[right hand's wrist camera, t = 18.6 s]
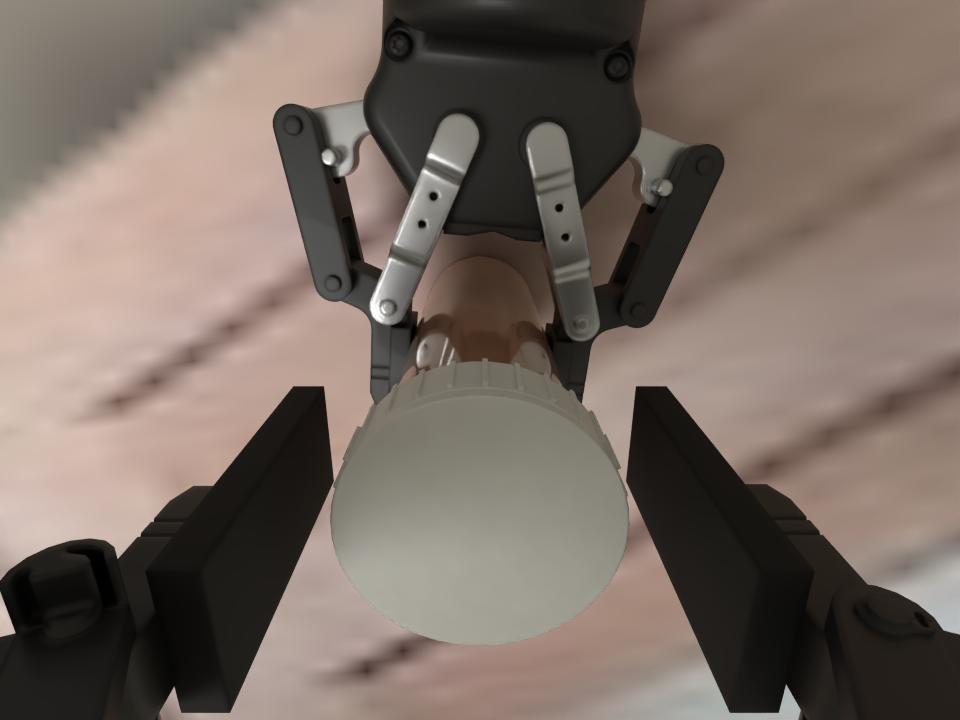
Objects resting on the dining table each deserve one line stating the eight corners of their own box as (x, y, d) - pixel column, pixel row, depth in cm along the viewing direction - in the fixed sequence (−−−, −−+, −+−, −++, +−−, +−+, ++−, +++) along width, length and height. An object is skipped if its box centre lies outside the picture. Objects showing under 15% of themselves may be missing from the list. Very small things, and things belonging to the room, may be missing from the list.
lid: (440, 302, 11) (432, 329, 9) (667, 450, 12) (697, 498, 10) (300, 510, 12) (272, 565, 11) (511, 623, 14) (515, 689, 12)
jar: (468, 375, 27) (453, 635, 12) (406, 296, 26) (310, 482, 11) (552, 320, 26) (643, 531, 11) (493, 234, 25) (512, 349, 10)
